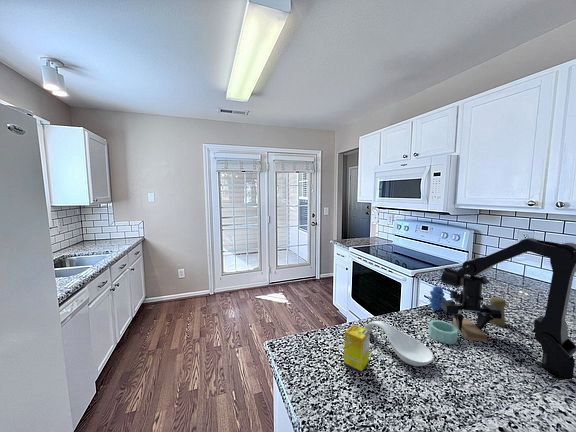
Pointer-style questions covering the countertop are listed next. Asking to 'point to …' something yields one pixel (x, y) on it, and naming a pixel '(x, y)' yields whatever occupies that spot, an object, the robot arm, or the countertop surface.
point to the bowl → (443, 331)
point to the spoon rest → (405, 345)
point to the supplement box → (356, 348)
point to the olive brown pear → (500, 305)
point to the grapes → (436, 298)
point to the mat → (462, 334)
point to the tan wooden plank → (471, 330)
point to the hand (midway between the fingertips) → (468, 330)
